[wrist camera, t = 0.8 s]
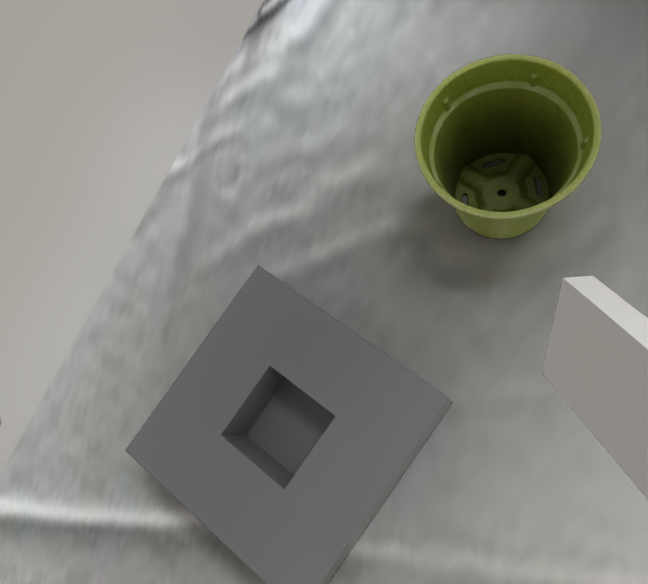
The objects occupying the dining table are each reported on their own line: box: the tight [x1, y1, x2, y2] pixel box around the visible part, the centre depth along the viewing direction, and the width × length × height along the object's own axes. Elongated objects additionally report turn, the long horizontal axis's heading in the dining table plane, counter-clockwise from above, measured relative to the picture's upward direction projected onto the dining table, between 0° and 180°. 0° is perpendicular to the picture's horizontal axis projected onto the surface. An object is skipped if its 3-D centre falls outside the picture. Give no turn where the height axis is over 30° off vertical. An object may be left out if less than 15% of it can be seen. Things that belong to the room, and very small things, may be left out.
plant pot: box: [414, 54, 602, 239], centre depth 35 cm, size 9×9×9 cm
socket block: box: [125, 265, 452, 584], centre depth 36 cm, size 14×14×5 cm
